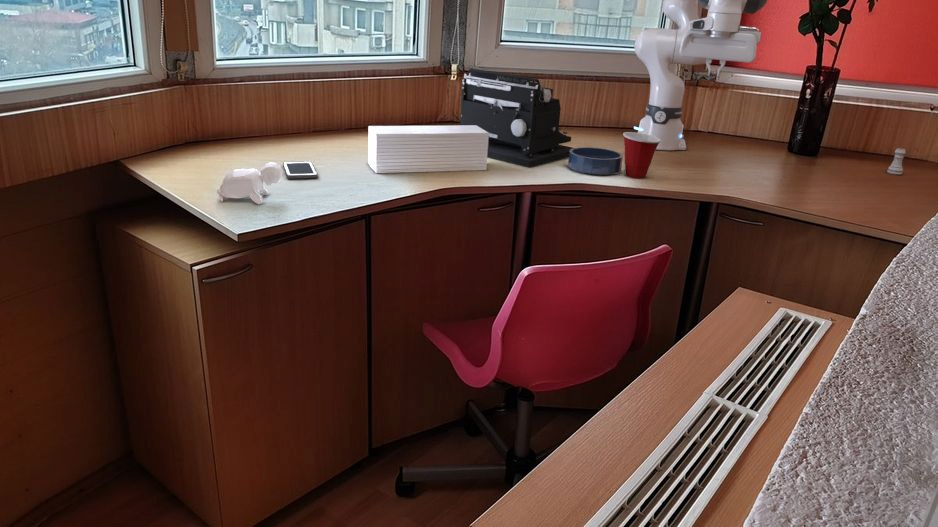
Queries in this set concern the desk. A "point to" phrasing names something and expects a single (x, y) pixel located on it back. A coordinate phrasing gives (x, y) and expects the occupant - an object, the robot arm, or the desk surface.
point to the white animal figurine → (250, 182)
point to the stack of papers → (427, 148)
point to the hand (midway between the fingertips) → (713, 76)
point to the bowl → (595, 160)
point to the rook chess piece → (897, 163)
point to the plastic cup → (639, 153)
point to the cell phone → (299, 169)
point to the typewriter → (514, 117)
